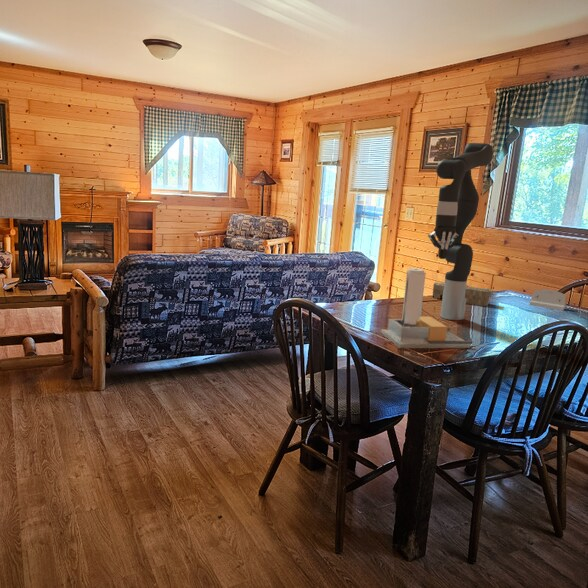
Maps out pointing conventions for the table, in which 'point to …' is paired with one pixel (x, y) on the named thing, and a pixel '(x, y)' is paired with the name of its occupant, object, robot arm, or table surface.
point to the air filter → (413, 297)
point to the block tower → (467, 294)
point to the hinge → (549, 299)
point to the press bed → (419, 337)
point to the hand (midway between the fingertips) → (441, 258)
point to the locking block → (434, 329)
